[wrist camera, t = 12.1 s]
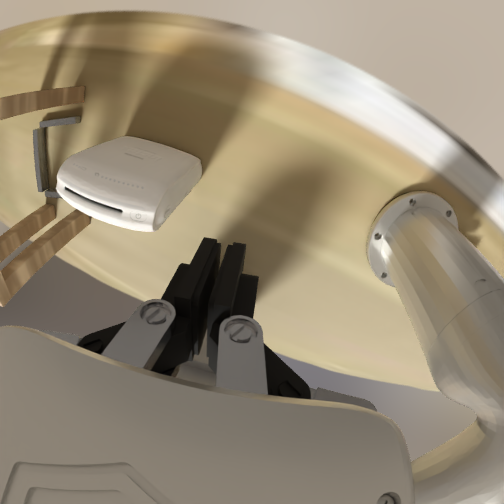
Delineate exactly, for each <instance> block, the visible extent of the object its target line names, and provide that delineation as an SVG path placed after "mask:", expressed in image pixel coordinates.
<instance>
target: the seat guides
mask: <svg viewBox="0 0 504 504" xmlns="http://www.w3.org/2000/svg"><path fill="white" fill-rule="evenodd" d="M80 120H81V116H75V117H67V118H59V119H52V120H46V121H42V122H40V128H38V129H35V130H33V145H34V159H35V170H36V179H37V186H38V192H43V191H45V190H46V191H45V196H46V197H54V198H62V197H61V196H60V195H59V193H58V192H57V190H56V189H48V188H49V183H48V174H47V163H46V149H45V127H49V126H57V125H66V124H75V123H79V122H80ZM47 189H48V190H47Z"/></svg>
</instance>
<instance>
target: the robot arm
mask: <svg viewBox="0 0 504 504" xmlns="http://www.w3.org/2000/svg"><path fill="white" fill-rule="evenodd" d="M410 199H411V200H410ZM376 233H377V234H376ZM245 250H246V244H242V243H236V242H234V243H233V245H228V247H227V249H226V252H225V255H224V258H223V261H222V264H221V267H220V270H219V265H220V253H221V243H217V239H211V238H205V237H204V238H203V240H202V242H201V244H200V246H199V248H198V250H197V252H196V254H195V256H194V257H193V259H192V261H191V263H190V265H189V264H184V263H181V264H180V265H179V267H178V269H177V271H176V272H175V274H174V276H173V278H172V280H171V281H170V283H169V285H168V287H167V289H166V291H165V293H164V294H163V296H162V298H161V300H160V299H152V300H148V301H146V302H144V303H142V304H141V305H140V306H139V307H138V308H137V309H136V310H135V311H134V313H133V314H132V315H131V316H130V318H129V319H128V320H127V321H126V322H123V323H121V324H118V325H115V326H112V327H109V328H106V329H103V330H100V331H97V332H95V333H91V334H89V335H87V336H85V337H84V338H80V336H79V335H74V334H66V333H60V332H53V331H47V330H35V329H31V328H27V327H22V326H3V327H0V504H504V279H503V277H502V276H501V275H500V274H499V273H498V271H497V270H496V269H495V268H494V267H493V266H492V265H491V263H490V262H489V261H488V260H487V259H486V258H485V257H484V256H483V255H482V254H481V252H480V251H479V250H478V249H477V248H476V247H475V246H474V245H473V244H472V243H471V242H470V241H469V240H468V239H467V238H466V237H465V236H464V235H463V234H462V233H461V232H460V231H459V226H458V221H457V217H456V215H455V212H454V210H453V209H452V207H451V206H450V204H449V203H447V202H446V201H445V200H444V199H443V198H441V197H440V196H438V195H437V194H434V193H431V192H428V191H414V192H409V193H406V194H403V195H401V196H399V197H397V198H396V199H394V200H392V201H391V202H390V203H389V204H388V205H387V206H385V207H384V208H383V210H382V211H381V212H380V213H379V214H378V216H377V217H376V219H375V221H374V222H373V224H372V226H371V229H370V232H369V234H368V239H367V257H368V261H369V264H370V266H371V269H372V270H373V272H374V274H375V275H376V276H377V278H378V279H379V280H381V281H382V282H384V283H385V284H387V285H389V286H392V287H395V288H396V290H397V292H398V294H399V296H400V298H401V300H402V303H403V305H404V307H405V309H406V311H407V314H408V316H409V318H410V321H411V323H412V325H413V328H414V330H415V333H416V335H417V337H418V340H419V342H420V345H421V348H422V350H423V353H424V355H425V358H426V361H427V364H428V366H429V369H430V372H431V375H432V377H433V380H434V382H435V384H436V386H437V388H438V389H439V390H440V391H441V393H442V394H443V395H444V396H446V397H447V398H449V399H450V400H452V401H454V402H456V403H459V404H461V405H464V406H466V407H468V408H470V409H471V410H473V411H474V412H475V413H476V415H477V418H476V420H475V422H474V423H473V424H471V425H470V426H469V427H468V428H466V429H465V430H463V431H462V432H461V433H460V434H458V435H457V436H455V437H453V438H452V439H451V440H449V441H447V442H445V443H444V444H442V445H440V446H439V447H437V448H435V449H433V450H431V451H430V452H428V453H426V454H424V455H423V456H421V457H419V458H417V459H415V460H413V461H412V462H411V460H410V456H409V451H408V448H407V444H406V441H405V438H404V435H403V433H402V431H401V429H400V428H399V426H398V425H397V424H396V423H395V422H394V421H393V420H392V419H390V418H388V417H387V416H385V415H383V414H381V413H378V412H377V410H376V408H375V406H374V405H373V404H372V403H371V402H370V401H367V400H365V399H362V398H357V397H353V396H349V395H345V394H341V393H337V392H334V391H330V390H326V389H323V388H319V387H318V388H317V390H316V389H313V388H309V386H308V385H307V384H306V382H305V381H304V380H303V379H302V378H300V377H299V376H298V375H297V374H296V373H295V372H294V371H293V370H292V369H291V368H290V367H288V366H287V365H286V364H285V363H284V362H283V361H282V360H281V359H280V358H279V357H278V356H277V355H276V354H275V353H274V352H273V351H272V350H271V349H269V348H268V347H267V346H266V345H265V344H264V342H263V331H262V328H261V326H260V325H259V323H258V322H257V321H255V320H254V319H253V315H254V308H255V300H256V293H257V286H258V278H259V276H253V275H247V274H242V272H243V265H244V258H245ZM206 330H207V357H209V359H208V366H209V367H210V368H211V369H212V371H213V372H214V373H215V374H216V386H211V385H206V384H201V383H196V382H192V381H187V380H183V379H179V378H176V376H177V374H178V372H179V370H180V367H181V366H180V364H182V363H185V362H187V361H191V362H192V361H193V358H194V355H199V354H200V351H201V347H202V344H203V340H204V337H205V334H206Z"/></svg>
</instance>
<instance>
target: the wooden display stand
mask: <svg viewBox="0 0 504 504" xmlns="http://www.w3.org/2000/svg"><path fill="white" fill-rule="evenodd" d="M84 93H85V86H78V87H66V88H56V89H48V90H41V91H34V92H28V93H22V94H17V95H12V96H7V97H3V98H0V120H3V119H6V118H10V117H13V116H17V115H21V114H24V113H28V112H33V111H37V110H41V109H46V108H51V107H56V106H62V105H67V104H74V103H80V102H84ZM55 218H56V215H55V210H54V205H48V204H45V205H43V206H42V207H40V208H39V209H37V210H36V211H34V212H33V213H31V214H30V215H29V216H27V217H26V218H24V219H23V220H21V221H20V222H19V223H17V224H16V225H15V226H13V227H12V228H11V229H9V230H8V231H7V232H5V233H4V234H3V235H1V236H0V263H1V262H2V261H3V260H4V259H5V258H6V257H7V256H8V255H10V254H11V253H12V252H13V251H15V250H16V249H17V248H18V247H19V246H20V245H22V244H23V243H24V242H25V241H27V240H28V239H29V238H30V237H31V236H33V235H34V234H35V233H37V232H38V231H39V230H40V229H42V228H43V227H44V226H46V225H47V224H48V223H50V222H51V221H52V220H54V219H55ZM89 224H90V218H89V216H88V215H87V214H85V213H83V212H81V211H80V210H78V209H76V210H75V211H73V212H72V213H70V214H69V215H68V216H66V217H65V218H63V219H62V220H61V221H59V222H58V223H57V224H55V225H54V226H53V227H52V228H50V229H49V230H48V231H46V232H45V233H44V234H43V235H41V236H40V237H39V238H38V239H36V240H35V241H34V242H33V243H32V244H31V245H29V246H28V247H27V248H26V249H25V250H23V251H22V252H21V253H20V254H19V255H18V256H17V257H15V258H14V259H13V260H12V261H11V262H10V263H9V264H8V265H7V266H6V267H4V268H3V270H1V271H0V306H2V307H4V306H5V305H6V303H7V302H8V301H9V300H10V299H11V298H12V297H13V296H14V295H15V293H16V292H17V291H18V290H19V289H20V288H21V287H22V286H23V285H24V284H25V283H26V282H27V281H28V280H29V279H30V278H31V277H32V275H34V274H35V272H37V271H38V270H39V269H40V268H41V267H42V266H43V265H44V264H45V263H46V262H47V261H48V260H49V259H50V258H51V257H52V256H53V255H55V254H56V253H57V252H58V251H59V250H60V249H61V248H62V247H63V246H64V245H66V244H67V243H68V242H69V241H70V240H71V239H72V238H74V237H75V236H76V235H77V234H78V233H79V232H81V231H82V230H83V229H84V228H85V227H87V226H88V225H89Z"/></svg>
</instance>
